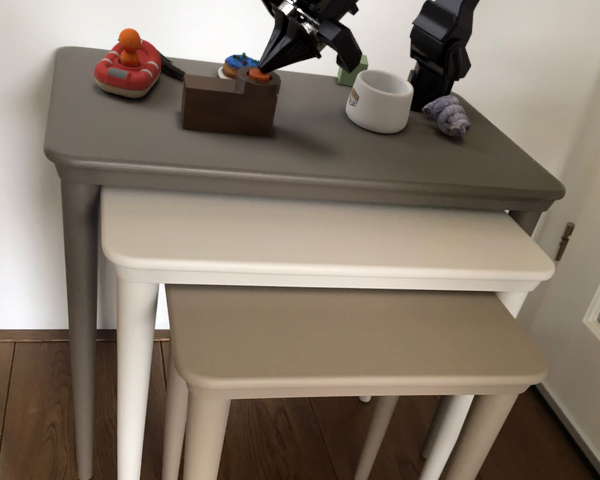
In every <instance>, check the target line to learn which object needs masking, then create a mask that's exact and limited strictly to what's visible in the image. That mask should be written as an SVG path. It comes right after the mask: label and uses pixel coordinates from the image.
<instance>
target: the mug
mask: <svg viewBox="0 0 600 480" xmlns="http://www.w3.org/2000/svg"><path fill="white" fill-rule="evenodd" d="M412 97H413V87H412V85H411V84H410V83H409V82H408V81H407V79H406V78H404V77H402V76H400V75H398V74H395V73H392V72H390V71H386V70H380V69H367V70H364V71H362V72H360V73H359V74H358V75H357V78H356V80H355V83H354V86H353V87H351V90H350V93H349V96H348V98H347V101H346V105H345V113H346V115H347V117H348V119H349V120H350V121H351V122H352V123H354V124H356V125H357V126H359V127H360V128H363V129H365V130H368V131H371V132H375V133H378V134H379V133H380V134H394V133H398V132H400V131H402V130H404V128H405V127H406V126H407V123H408V120H409V116H410V111H411V109H410V107H411V102H412Z"/></svg>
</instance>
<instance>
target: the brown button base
mask: <svg viewBox="0 0 600 480" xmlns="http://www.w3.org/2000/svg"><path fill="white" fill-rule="evenodd" d="M254 68H257V67H256V66H246V67H241V68H240V69H239V70H238V71H237V77H236V80H232V79H224V78H220V77H215V76H214V77H213V76H207V75H197V74H189V73H186V74H184V77H183V83H182V95H181V107H180V119H181V128H182V129H187V130H197V131H205V132H206V131H207V132H217V133H225V134H226V133H228V134H237V135H247V136H248V135H249V136H259V137H269V138H271V137H272V131H273V126H274V122H275V121H274V120H275V115H276V111H277V104H278V100H279V97H278V95H279V94H280V89H281V85H282V79H281V76H280V75H279V74H278V73H276V72H275V71H271V72H269V73H270V80H269V81H266V82H264V81H257V80H254V79H251V78H250V77H249V70H250V69H254Z"/></svg>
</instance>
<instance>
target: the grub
mask: <svg viewBox="0 0 600 480" xmlns="http://www.w3.org/2000/svg"><path fill="white" fill-rule="evenodd" d="M421 112H423V113H424V115H425V116H426V117H427V118H433V121H434V123H435V125H437V128H438V129H439V130H440V131H441V132H443V134H445V135H447V136H451V137H459V136H462V137H463V136H464V134H466V133H467V132H468V131H469V130H470V128H471V125H472V124H471V123H470V119H469V118H468V116H467V115H466V111H465V109H464V107H463V105H460V100H459V99H458V97H456V96H455V95H451V94H450V95H448V96H443V97H441V98H438V99H437V100H435V101H433V102H430V103H429V104H427V105H426V106H425V107H424V108H422V111H421Z"/></svg>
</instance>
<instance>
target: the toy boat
mask: <svg viewBox="0 0 600 480" xmlns="http://www.w3.org/2000/svg"><path fill="white" fill-rule="evenodd" d="M118 39H119V41H118V42H117V43H116V44H115V45H113V47H112V48H111V49H110V50H109V52H107V54H106V55H105V56H104V57H103V58H102V59H101V60H100V61H99V62H98V63H97V64H96V65H95V68H94V71H93V77H94V80H95V82H96V85H97V86H98V87H99V88H100V89H101V90H103V91H105V92H107V93H111V94H114V95H118V96H122V97H125V98H129V99H139V98H141V97H144V96H145V95H147V93H148V92H149V91H150V89H151V88H152V87H153V86H154V85H155V84H156V82H158V80H159V78H160V75H161V72H162V69H161V57H160V54H159V52H160V51H159V50H158V49H157V48H156V47H155V45H154V44H152V43H151V42H150V41H147V40H145V39H143V38H141V36H140V34H139V32H138V31H137V30H136V29H134V28H131V27H129V28H123V30H121V32H120V33H119V35H118ZM157 50H158V51H159V52H158V51H157Z"/></svg>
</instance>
